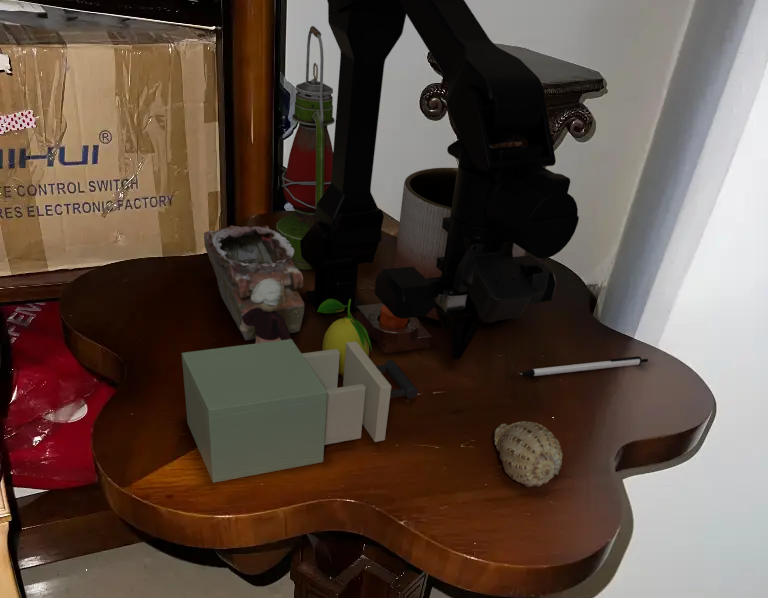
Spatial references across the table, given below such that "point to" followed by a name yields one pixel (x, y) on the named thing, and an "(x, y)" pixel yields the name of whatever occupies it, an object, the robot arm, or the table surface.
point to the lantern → (308, 156)
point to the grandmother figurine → (266, 313)
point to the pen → (586, 366)
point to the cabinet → (254, 408)
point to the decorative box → (255, 271)
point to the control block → (392, 331)
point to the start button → (391, 319)
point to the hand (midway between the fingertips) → (454, 357)
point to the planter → (427, 223)
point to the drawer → (357, 392)
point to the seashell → (528, 452)
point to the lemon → (343, 332)
